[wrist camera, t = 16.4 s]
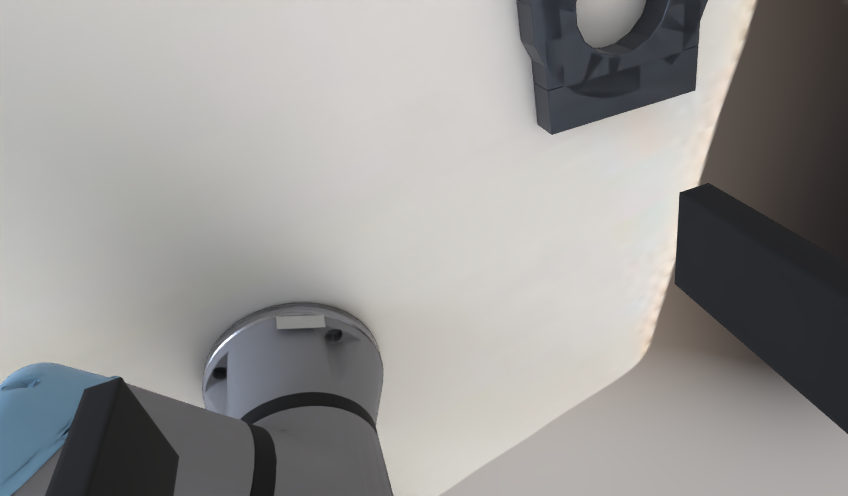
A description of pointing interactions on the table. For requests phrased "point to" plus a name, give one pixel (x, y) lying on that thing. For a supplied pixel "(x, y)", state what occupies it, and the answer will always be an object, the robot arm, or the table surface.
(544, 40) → the plate
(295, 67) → the table surface
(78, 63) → the table surface
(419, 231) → the table surface
